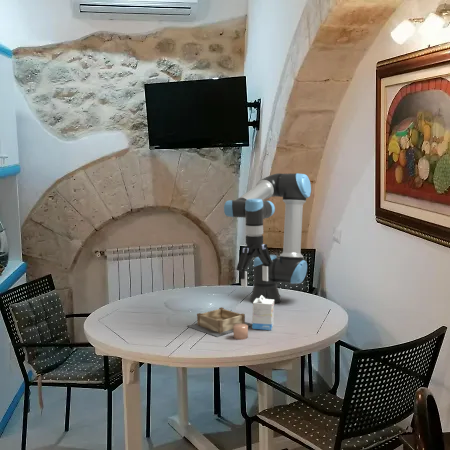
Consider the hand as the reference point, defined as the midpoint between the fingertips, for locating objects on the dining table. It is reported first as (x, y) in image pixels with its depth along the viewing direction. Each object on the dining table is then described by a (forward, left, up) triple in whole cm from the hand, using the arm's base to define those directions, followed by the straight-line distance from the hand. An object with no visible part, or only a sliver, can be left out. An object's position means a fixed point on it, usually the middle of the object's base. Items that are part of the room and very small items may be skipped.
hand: (254, 283), depth 262 cm
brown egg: (+14, +5, -20) cm, 25 cm away
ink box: (-2, +2, -20) cm, 20 cm away
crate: (+10, -12, -20) cm, 25 cm away
